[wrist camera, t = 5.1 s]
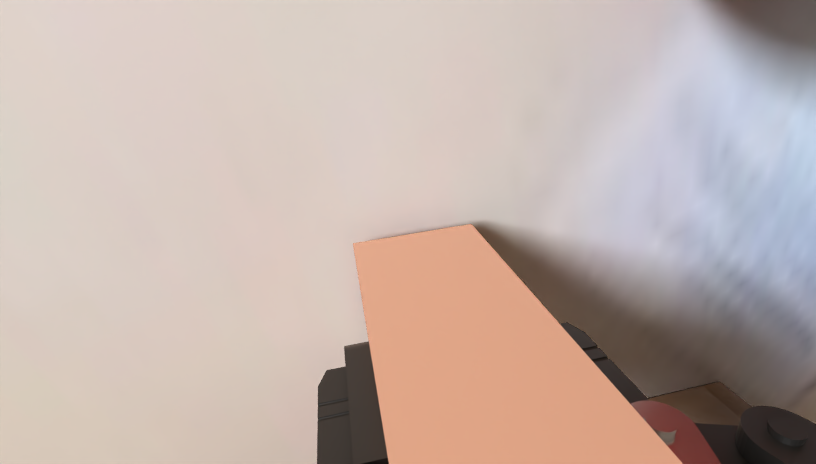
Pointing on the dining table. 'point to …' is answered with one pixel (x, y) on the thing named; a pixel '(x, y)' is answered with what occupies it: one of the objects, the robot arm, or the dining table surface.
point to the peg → (484, 363)
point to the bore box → (707, 404)
